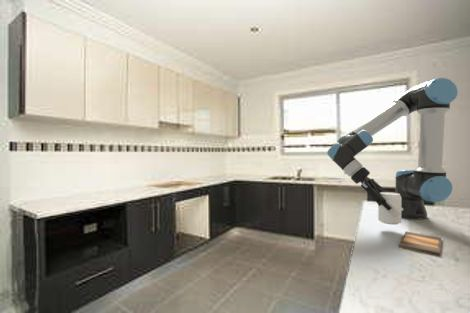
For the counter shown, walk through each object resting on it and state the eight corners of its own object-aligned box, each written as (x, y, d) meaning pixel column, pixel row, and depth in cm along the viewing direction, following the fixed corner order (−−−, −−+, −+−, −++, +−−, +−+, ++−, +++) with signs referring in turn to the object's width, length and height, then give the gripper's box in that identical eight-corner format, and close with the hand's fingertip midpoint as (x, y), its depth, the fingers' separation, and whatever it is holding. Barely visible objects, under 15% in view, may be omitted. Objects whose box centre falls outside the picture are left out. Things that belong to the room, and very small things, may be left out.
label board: (405, 233, 100) (405, 231, 100) (441, 240, 93) (441, 237, 93) (399, 247, 86) (399, 244, 86) (440, 256, 79) (440, 252, 79)
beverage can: (405, 225, 99) (405, 195, 98) (382, 224, 100) (382, 195, 100) (396, 219, 107) (396, 192, 106) (375, 219, 108) (375, 191, 108)
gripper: (356, 175, 121) (395, 213, 111) (343, 180, 105) (386, 225, 95) (369, 164, 117) (410, 203, 107) (356, 167, 101) (403, 213, 92)
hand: (399, 213), depth 101 cm, fingers closed on beverage can, 8 cm apart
